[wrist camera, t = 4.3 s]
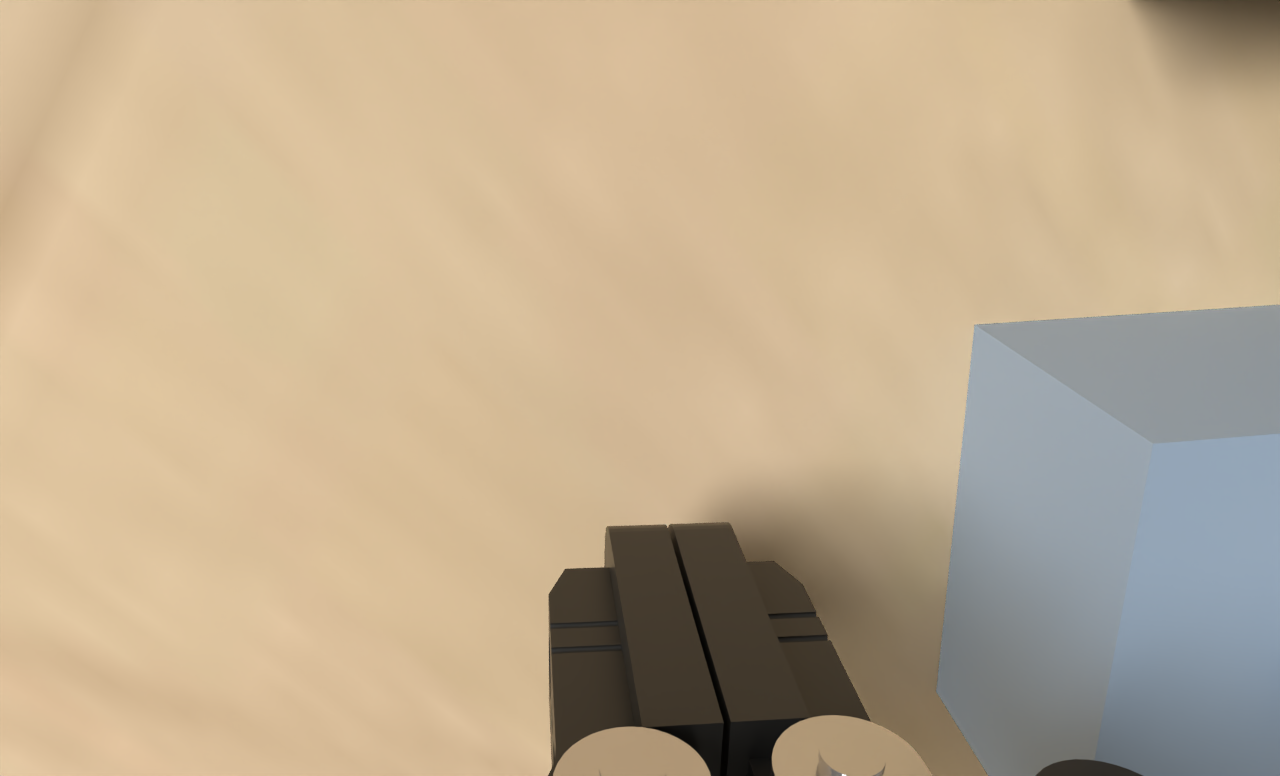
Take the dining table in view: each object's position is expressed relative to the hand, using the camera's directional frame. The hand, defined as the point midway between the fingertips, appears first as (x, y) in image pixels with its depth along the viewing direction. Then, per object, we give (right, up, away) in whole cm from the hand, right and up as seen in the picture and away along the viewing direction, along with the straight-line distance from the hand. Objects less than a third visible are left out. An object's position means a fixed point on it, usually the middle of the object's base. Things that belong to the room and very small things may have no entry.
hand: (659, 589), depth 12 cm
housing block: (+7, +1, +2) cm, 8 cm away
